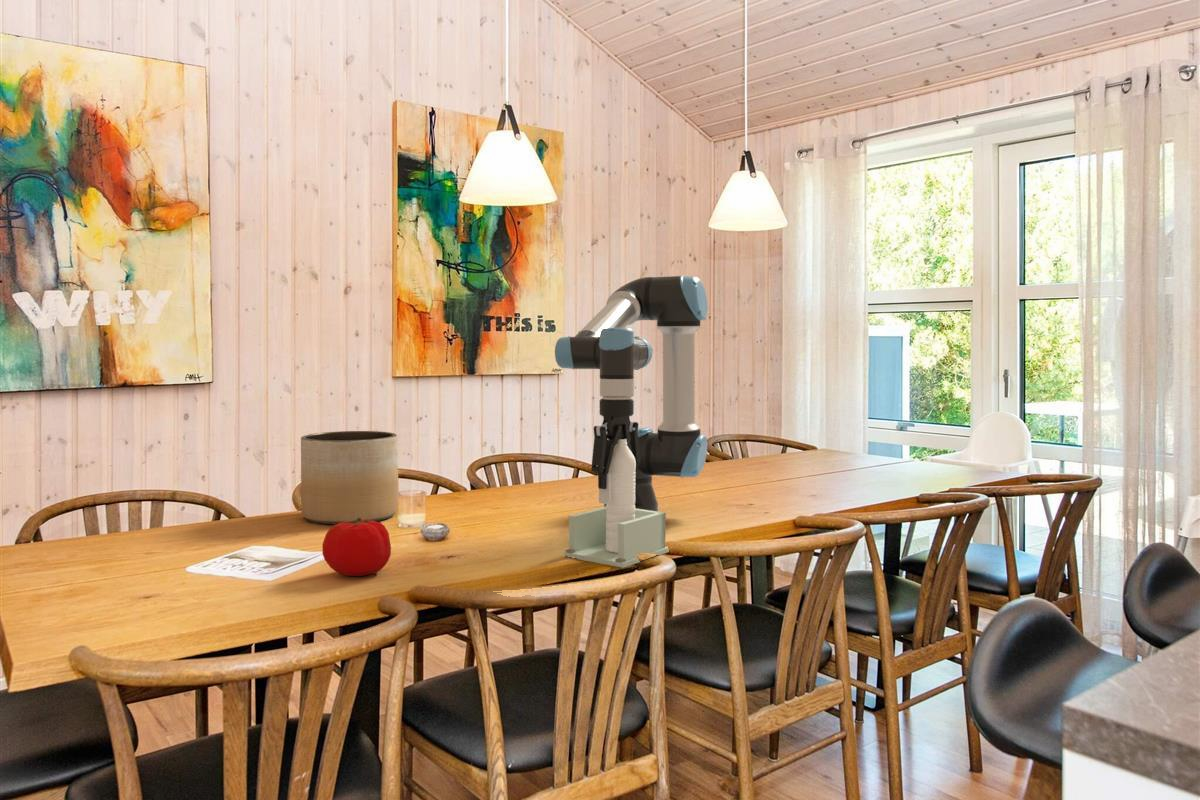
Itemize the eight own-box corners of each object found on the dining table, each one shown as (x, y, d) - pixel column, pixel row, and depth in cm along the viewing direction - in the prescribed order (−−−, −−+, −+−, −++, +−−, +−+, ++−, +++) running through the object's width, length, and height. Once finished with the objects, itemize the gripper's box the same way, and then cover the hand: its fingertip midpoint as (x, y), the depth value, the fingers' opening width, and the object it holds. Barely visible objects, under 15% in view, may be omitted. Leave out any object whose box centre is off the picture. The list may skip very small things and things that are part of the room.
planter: (413, 519, 234) (412, 436, 233) (317, 530, 220) (315, 443, 219) (379, 504, 255) (378, 428, 254) (290, 514, 241) (288, 434, 239)
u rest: (612, 541, 208) (612, 504, 207) (669, 551, 198) (669, 512, 198) (564, 556, 194) (564, 516, 193) (623, 567, 184) (623, 525, 183)
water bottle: (639, 552, 193) (641, 439, 192) (612, 554, 191) (614, 440, 189) (622, 544, 201) (624, 435, 200) (596, 546, 199) (598, 436, 197)
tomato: (392, 579, 175) (392, 522, 174) (322, 585, 171) (321, 526, 170) (389, 564, 187) (388, 511, 186) (323, 569, 183) (322, 514, 182)
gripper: (629, 395, 204) (629, 492, 205) (573, 399, 187) (573, 505, 189) (656, 396, 199) (656, 495, 201) (601, 401, 183) (601, 509, 184)
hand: (616, 500), depth 195 cm, fingers open, 8 cm apart
